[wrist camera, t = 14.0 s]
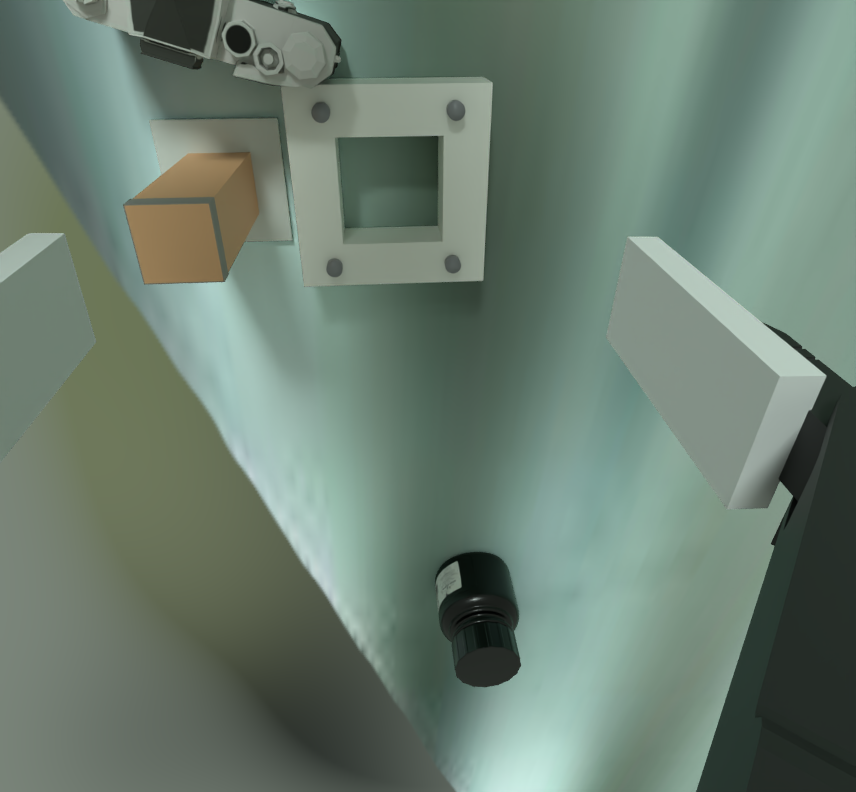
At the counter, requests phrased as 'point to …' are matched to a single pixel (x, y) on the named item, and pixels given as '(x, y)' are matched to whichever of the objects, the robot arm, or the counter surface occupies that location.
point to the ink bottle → (479, 617)
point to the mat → (228, 138)
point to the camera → (226, 36)
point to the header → (390, 117)
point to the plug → (194, 218)
